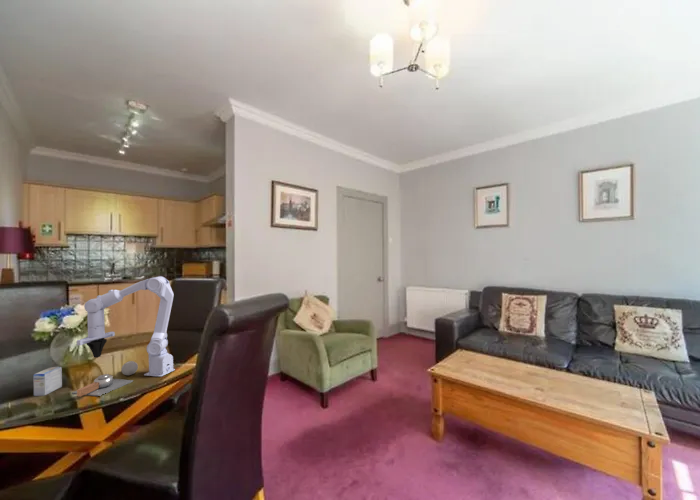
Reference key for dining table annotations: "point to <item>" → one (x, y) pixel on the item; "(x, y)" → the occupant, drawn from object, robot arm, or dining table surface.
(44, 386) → the medicine box
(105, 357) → the dining table surface
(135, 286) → the robot arm
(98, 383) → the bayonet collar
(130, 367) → the lightbulb
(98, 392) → the lock base
